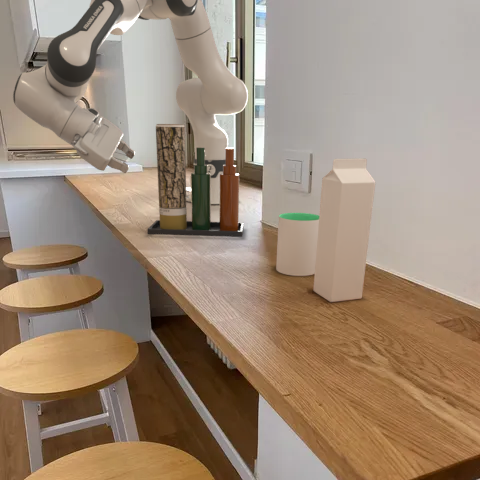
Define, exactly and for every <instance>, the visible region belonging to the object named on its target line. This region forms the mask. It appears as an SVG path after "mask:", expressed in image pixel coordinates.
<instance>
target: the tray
mask: <svg viewBox="0 0 480 480" xmlns="http://www.w3.org/2000/svg"><path fill="white" fill-rule="evenodd" d="M244 227H245V223H244V222H238V231H219V221H211V230H192V220H187V228H186V229H185V230H179V229H161V228H160V219H157V220H155V221H154V222H152V224H151V225H150V226H149V227H148V228H147V230H146V231H147V235H162V236H163V235H165V236H167V235H168V236H195V237H197V236H199V237H200V236H201V237H232V238H233V237H236V238H243V234H244Z"/></svg>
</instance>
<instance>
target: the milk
mask: <svg viewBox="0 0 480 480" xmlns="http://www.w3.org/2000/svg"><path fill="white" fill-rule="evenodd" d="M367 164H368V159H367V158H334V159H333V161H332V169H331V170H330V171H328V173H326V174H325V175H324V176H323V177H322V179H321V187H320V188H321V190H320V203H319V213H318V215H319V226H318V238H317V251H316V264H315V274H314V277H313V289H312V290H313V292H314V293H316V294H317V295H319V296H320V297H322V298H323V299H325V300H327V301H328V302H330V303H336V302H337V303H338V302H345V301H352V300H360V299H361V300H362V298H363V291H364V281H365V274H366V273H365V272H366V266H367V256H368V249H369V241H370V233H371V223H372V216H373V215H372V214H373V207H374V198H375V189H376V180H375V179H374V177H373V176H372V175H371V173H370V172H369V171H368V169H367Z"/></svg>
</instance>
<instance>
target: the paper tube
mask: <svg viewBox="0 0 480 480" xmlns="http://www.w3.org/2000/svg"><path fill="white" fill-rule="evenodd" d="M155 143H156V166H157V167H156V168H157V189H158V192H157V193H158V212H159V220H160V228H161V229H179V230H185V229H186V228H187V221H188V220H187V218H188V216H187V213H188V212H187V209H188V208H187V201H186V197H187V190H186V187H187V164H186V127H185V124H183V123H180V124H179V123H156V124H155Z"/></svg>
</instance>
